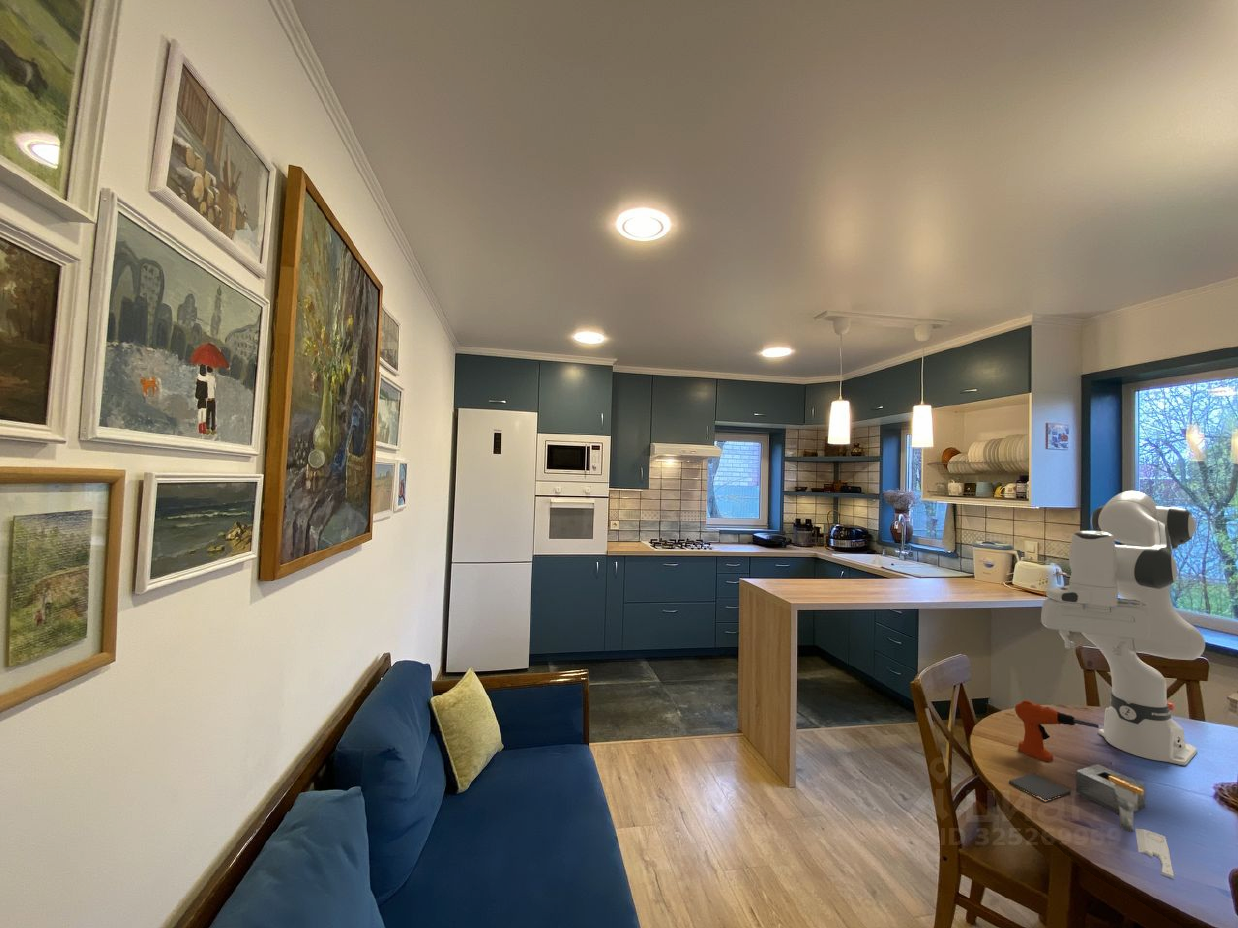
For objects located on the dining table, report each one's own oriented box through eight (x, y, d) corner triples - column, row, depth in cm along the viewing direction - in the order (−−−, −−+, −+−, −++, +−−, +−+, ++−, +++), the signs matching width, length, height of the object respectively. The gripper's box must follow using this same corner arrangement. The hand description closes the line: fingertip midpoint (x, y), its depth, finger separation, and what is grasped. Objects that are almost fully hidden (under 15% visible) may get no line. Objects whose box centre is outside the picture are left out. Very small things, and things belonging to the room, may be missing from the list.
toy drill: (1105, 778, 127) (1093, 716, 129) (1016, 753, 143) (1007, 699, 145) (1110, 772, 130) (1099, 712, 132) (1022, 748, 145) (1014, 695, 147)
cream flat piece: (1136, 866, 100) (1136, 860, 101) (1133, 829, 111) (1132, 824, 111) (1174, 880, 97) (1174, 874, 97) (1166, 840, 108) (1166, 835, 108)
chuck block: (1097, 785, 127) (1097, 763, 127) (1145, 807, 118) (1144, 784, 118) (1076, 793, 123) (1076, 770, 124) (1123, 816, 115) (1123, 792, 115)
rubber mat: (1033, 775, 131) (1033, 772, 131) (1070, 793, 123) (1070, 790, 123) (1009, 782, 127) (1009, 780, 127) (1045, 801, 120) (1045, 799, 120)
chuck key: (1115, 818, 114) (1114, 774, 115) (1148, 834, 109) (1147, 788, 109) (1106, 821, 113) (1105, 777, 113) (1138, 838, 108) (1137, 791, 108)
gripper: (1140, 598, 123) (1140, 654, 123) (1038, 589, 131) (1038, 642, 130) (1156, 603, 118) (1157, 662, 117) (1048, 593, 125) (1048, 648, 125)
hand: (1093, 651), depth 124 cm, fingers open, 8 cm apart
